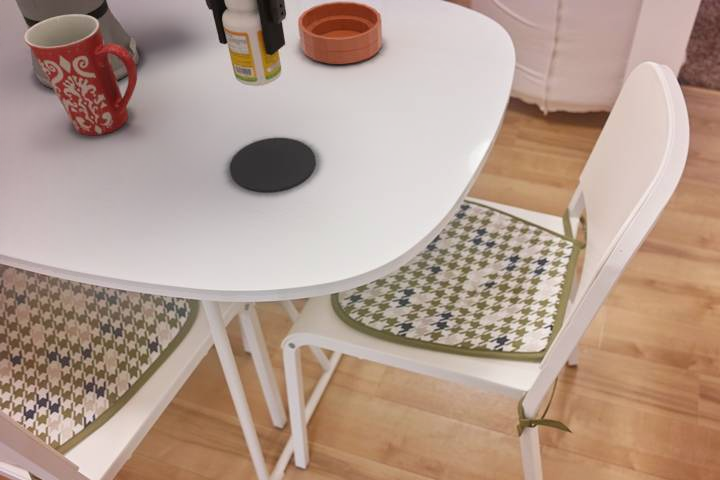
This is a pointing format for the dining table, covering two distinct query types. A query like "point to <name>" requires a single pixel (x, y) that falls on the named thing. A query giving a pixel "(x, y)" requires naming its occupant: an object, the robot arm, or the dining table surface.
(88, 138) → the dining table surface
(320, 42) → the bowl
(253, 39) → the supplement bottle
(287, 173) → the coaster
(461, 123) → the dining table surface
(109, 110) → the mug
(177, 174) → the dining table surface
